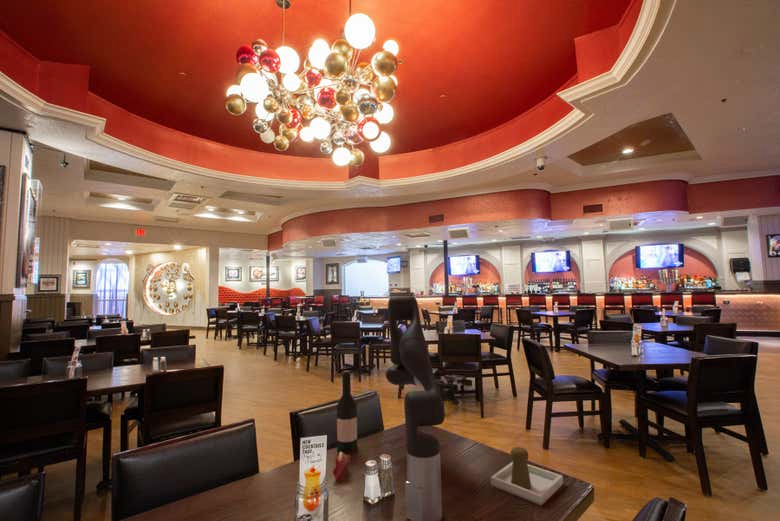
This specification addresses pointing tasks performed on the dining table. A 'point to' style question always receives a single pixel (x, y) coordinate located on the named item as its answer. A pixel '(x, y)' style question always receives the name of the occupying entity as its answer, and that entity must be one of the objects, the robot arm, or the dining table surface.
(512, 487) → the serving tray
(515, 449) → the cork
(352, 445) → the wine bottle
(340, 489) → the dining table surface
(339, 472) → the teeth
